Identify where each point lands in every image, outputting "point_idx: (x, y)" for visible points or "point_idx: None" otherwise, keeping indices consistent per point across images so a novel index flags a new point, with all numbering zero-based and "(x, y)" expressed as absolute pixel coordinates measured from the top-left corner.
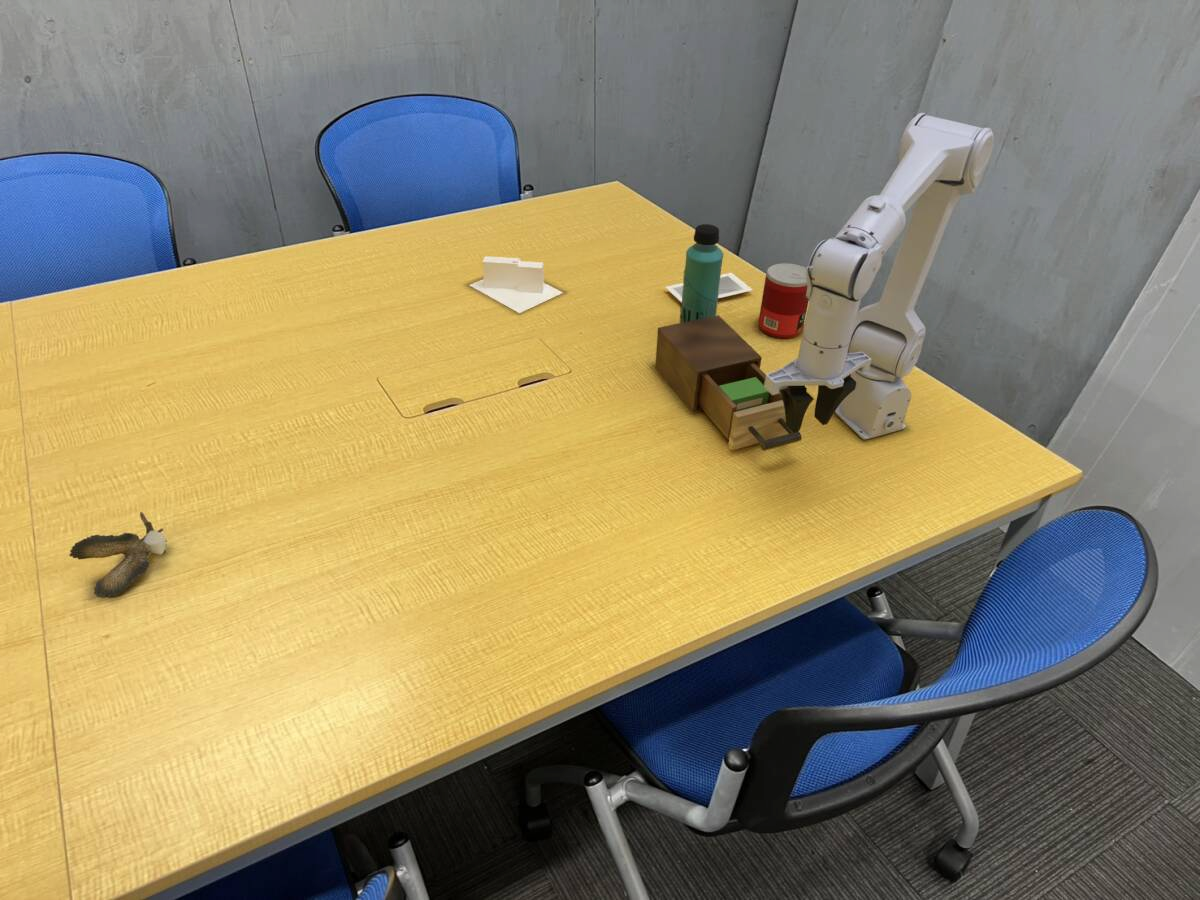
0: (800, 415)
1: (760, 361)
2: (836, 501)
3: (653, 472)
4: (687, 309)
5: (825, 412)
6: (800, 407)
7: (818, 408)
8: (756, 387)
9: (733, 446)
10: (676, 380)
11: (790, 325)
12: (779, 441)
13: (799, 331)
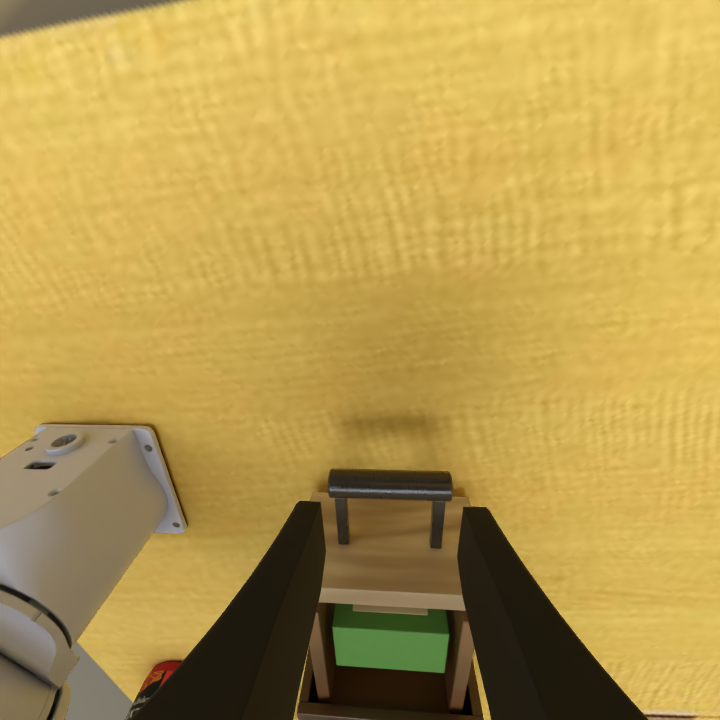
0: (557, 643)
1: (301, 697)
2: (320, 269)
3: (665, 499)
4: None
5: (303, 576)
6: None
7: (312, 599)
8: (357, 644)
9: (469, 505)
10: None
11: None
12: (403, 484)
13: (158, 672)
